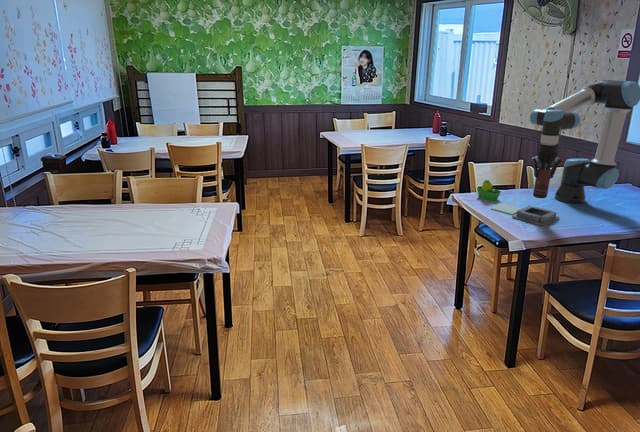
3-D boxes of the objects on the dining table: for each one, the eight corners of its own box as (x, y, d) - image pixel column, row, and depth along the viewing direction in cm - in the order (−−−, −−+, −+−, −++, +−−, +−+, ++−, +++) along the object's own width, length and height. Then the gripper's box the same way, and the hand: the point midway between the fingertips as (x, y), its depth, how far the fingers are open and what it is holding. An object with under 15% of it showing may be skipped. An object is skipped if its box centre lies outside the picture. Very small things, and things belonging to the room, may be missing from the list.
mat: (501, 204, 245) (502, 203, 245) (523, 210, 237) (523, 208, 237) (490, 209, 238) (490, 208, 238) (512, 214, 229) (512, 213, 229)
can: (541, 199, 217) (546, 170, 212) (530, 195, 223) (534, 168, 218) (549, 197, 220) (555, 169, 215) (538, 194, 225) (543, 166, 220)
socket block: (527, 210, 236) (528, 204, 234) (559, 219, 224) (560, 212, 223) (512, 217, 226) (513, 211, 224) (544, 226, 214) (545, 219, 213)
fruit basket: (500, 199, 254) (503, 180, 250) (490, 202, 249) (493, 182, 245) (483, 194, 263) (486, 175, 259) (473, 197, 258) (476, 178, 254)
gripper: (561, 142, 215) (552, 190, 223) (531, 141, 217) (524, 189, 225) (566, 145, 208) (558, 194, 216) (536, 144, 210) (528, 193, 218)
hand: (540, 191), depth 220 cm, fingers closed
